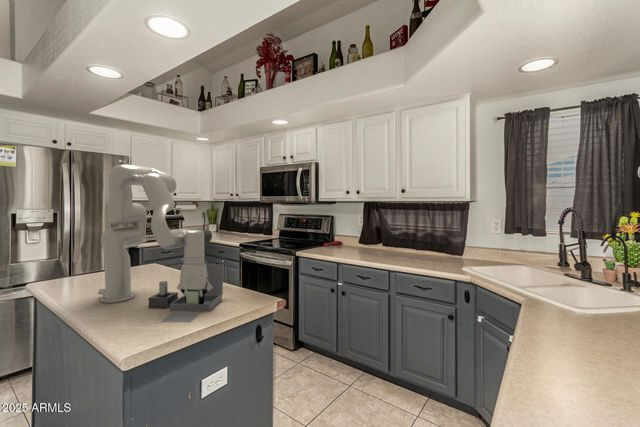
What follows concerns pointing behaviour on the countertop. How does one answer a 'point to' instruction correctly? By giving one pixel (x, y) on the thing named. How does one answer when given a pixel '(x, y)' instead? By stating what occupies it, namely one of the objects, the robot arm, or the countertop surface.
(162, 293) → the rod
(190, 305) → the case
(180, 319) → the mat
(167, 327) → the countertop surface
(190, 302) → the block
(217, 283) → the lid
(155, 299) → the square socket block
